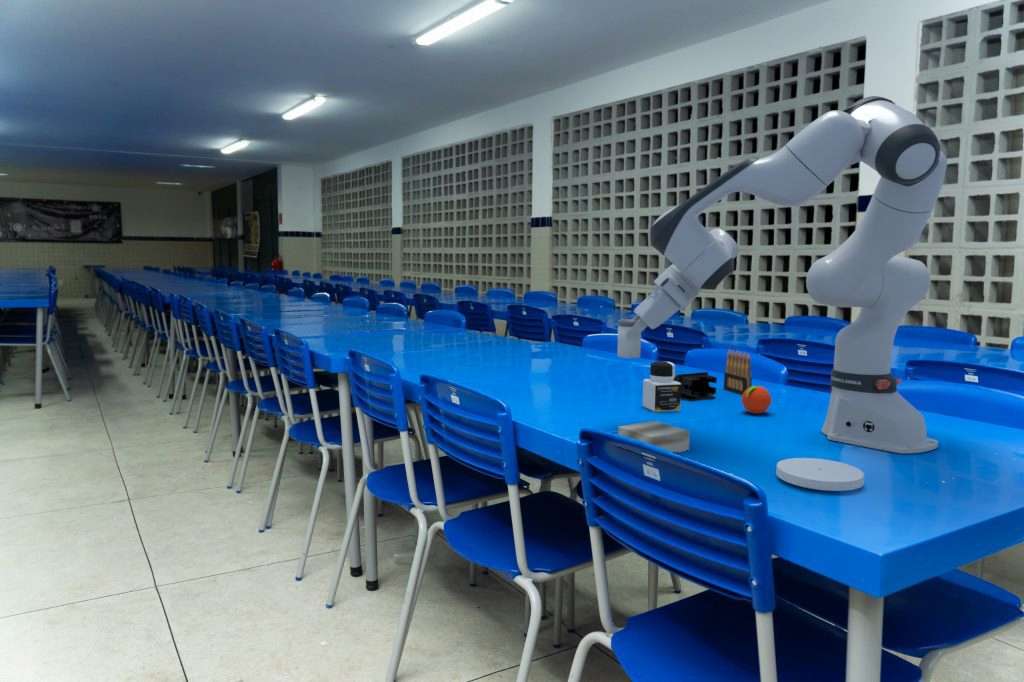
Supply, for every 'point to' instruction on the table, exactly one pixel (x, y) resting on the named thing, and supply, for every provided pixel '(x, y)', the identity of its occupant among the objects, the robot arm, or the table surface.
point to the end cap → (696, 386)
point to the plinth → (658, 435)
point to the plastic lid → (820, 474)
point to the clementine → (756, 399)
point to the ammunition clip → (737, 372)
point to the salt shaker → (628, 340)
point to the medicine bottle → (662, 388)
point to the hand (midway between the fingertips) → (626, 334)
